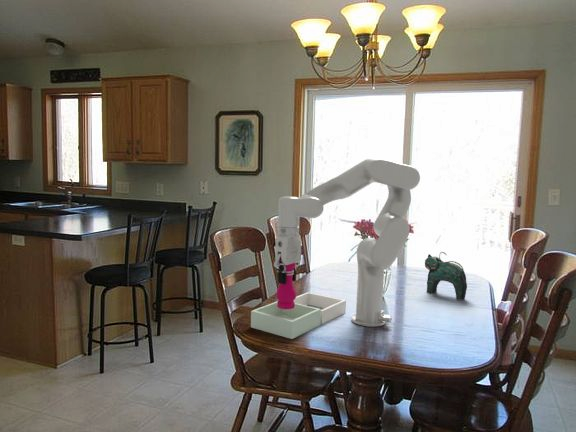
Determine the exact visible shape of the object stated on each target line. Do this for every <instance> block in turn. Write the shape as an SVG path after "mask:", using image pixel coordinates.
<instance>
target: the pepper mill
mask: <svg viewBox="0 0 576 432" xmlns="http://www.w3.org/2000/svg"><path fill="white" fill-rule="evenodd" d="M281 263H282V264H283V262H281ZM281 266H282V268H283V266H284V265H281ZM295 266H296V263H293V264H290V265H286V272H285V273H287V275H286V284H281V283H279V285H278V288H277V290H276V294H275V295H276V296H275V297H276V299H277V301H278V302H277V301H276V302H277V307H278V308H280V309H293V308H294V307H295V302H294V300H295V298H296V297H297V291H296V288H295V285H294V281H292V277H293V274H294V270H293V269H294V268H295Z"/></svg>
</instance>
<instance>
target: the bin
mask: <svg viewBox="0 0 576 432" xmlns="http://www.w3.org/2000/svg"><path fill="white" fill-rule="evenodd" d="M278 301H279V300H277V301H274V302H272V303H269V304H266V305H264V306H261V307H258V308H255V309H253V310H251V311H250V328H253V329H254V330H255V329H256V330H260V331H262V332H266V333H269V334H273V335H276V336H281V337H284V338H287V339H291V340H293V339H295V338H297V337H299V336H301V335H304V334H305V333H308V332H309V331H312V330H313V329H315V328H317V327H320V326H321V324H320V323H321V310H322V308H319V307H315V306H311V305H307V306H306V305H301V304H297V303H295V307H294V308H293V309H280V308H278V307H277V302H278Z"/></svg>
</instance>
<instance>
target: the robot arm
mask: <svg viewBox="0 0 576 432" xmlns="http://www.w3.org/2000/svg"><path fill="white" fill-rule="evenodd" d="M420 179H421V175H420V172H419V171H418V169H417V168H416V167H414V166H412V165H408V164H404V163H401V162H400V163H399V162H396V161H392V160H388V159H383V158H379V157H378V158H376V157H375V158H366V159H364V160H363V161H361V162H359V163H357V164H355V165H354V166H353V167H351V168H349V169H348V170H346V171H344V172H342V173H340V174H339V175H337V176H336V177H333V178H330V179H329V180H327V181H325V182H323V183H321V184H318V185H317V186H315V187H314V188H311V189H310V190H309V191H307V192H305V193H304V194H301V196H300V197H297V196H290V195H289V196H285V195H284V196H281V197H280V198H279V200H278V213H277V214H278V215H277V219H278V221H277V238H276V244H275V253H274V255H275V257H274V258H275V261H274V263H273V266H274V267H275V268H276V271H277V275H278V276H277V277H278V278H277V283H278V284H280V283H281V284H286V275H287V273H285V272H286V265H290V264H293V263H296V266H295V268H294V269H293V270H294V274H293V277H292V281H293V282H296V279H297V269H298V266H299V263H300V262H301V260H302V242H301V235H300V218H308V219H316V218H318V217H320V216H321V215H322V214H323V212H324V206H326V205H327V204H329V203H332V202H334V201H339V200H344V199H346V198H349V197H352V196H353V195H355V194H357V193H358V192H359V191H361V190H363V189H365V188H366V187H368V186H369V185H371V184H373V183H376V184H377V183H378V184H381V185H386V186H387V189H388V195H387V199H386V201H385V203H384V204H383V207H382V208H381V211H380V212H379V214H378V216H377V217H376V219H375V221H374V222H373V227H372V228H373V232H374V233H375V235H376V236H378V238H377V239H376V238H373V237H367V238H364V239H362V240H361V241H360V242H359V243H358V245H357V248H356V261H357V282H356V284H357V287H356V305H355V306H356V308H355V314H354V315H352V316H351V321H352V322H353V324H356V325H359V326H363V327H371V328H375V327H381V326H382V327H383V326H384V325H385V324H386V323H390V324H391V323H392V316H391V315H388V314H385V310H383V299H384V298H383V297H384V296H383V294H384V278H385V274H384V270H385V269H387V268H390V267H391V266H392V265H393V263H394V262H395V261H396V259H398V255H399V254H400V253H401V251H402V249H403V247H404V246H405V243H406V241H407V240H408V238H409V235H410V229H411V227H410V224H409V222H408V220H407V219H406V218H405V217H406V215H407V212H408V211H409V209H410V206H411V201H412V193H411V190H413V189H415V188H416V187H418V185H419V183H420ZM281 262H283V264H282V263H281ZM281 265H284V266H283V268H282V266H281Z"/></svg>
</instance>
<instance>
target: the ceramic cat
mask: <svg viewBox="0 0 576 432" xmlns="http://www.w3.org/2000/svg"><path fill="white" fill-rule="evenodd" d="M442 254H444V255H445V256H447V253H446V252H444V251H441V252H440V253H439V257H438V256H432V255H431V254H430V253H429V254H428V256H427V258H425V259H424V267H425V268H426V269H427V270H428V274H427V280H426V292H427V293H428V294H429V293H430V294H435V293H437V291H438V285H439V284H440V283H441V282H448V283H450V284H452V285H453V288H454V291H455V299H456V300H458V299H459V300H458V301H464V300H465V299H466V294H467V290H468V289H467V288H468V283H467V276H466V273H465V270H464V267H463V266H462V265H461V264H460V263H459V262H457V261H452V260H449V261H443V260H442V259H441V255H442ZM463 299H464V300H463Z"/></svg>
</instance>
